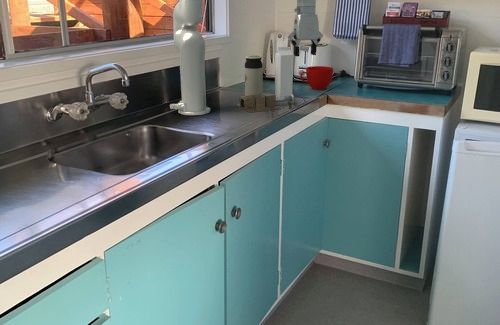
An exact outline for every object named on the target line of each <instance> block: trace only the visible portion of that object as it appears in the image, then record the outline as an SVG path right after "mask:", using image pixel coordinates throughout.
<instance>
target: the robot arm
mask: <svg viewBox="0 0 500 325" xmlns="http://www.w3.org/2000/svg"><path fill="white" fill-rule="evenodd" d="M316 3H317V0H296V8H294V11H293V12H295V13H296V14H295V16H294V21H293V28H292V32H290V34H288V35H287V39H288V40H289V42H290V43H291V44H292V46H293V57H300V53H301V52H300V46H299V45H300V43H301V41H310V43H311V45H310V55H312V56H316V55H317V50H318V49H317V46H318V45H319V43H320V41H321V40H322V38H323V37H324V35H323V33H322V32H320V26H319V22H320V21H319V16H318V14H316V12H317V9H316V6H317V4H316ZM172 13H173V14H172V15H173V16H172V17H173V18H172V22H173V25H172V26H173V44H174V47H175V48H176V49H177V51H178V52H179V53H180V54H179V71H180V72H179V74H180V91H181V100H179V102H177V103H170V104H169V108H170V110H174V109H175V110H178V114H180V115H184V116H201V115H206V114H209V113H210V112H211V108H210V107H208V106H207V96H206V92H207V91H206V73H205V72H206V69H205V67H206V65H205V64H206V63H205V60H206V59H205V58H206V57H205V56H206V41H205V38H204V37H203V35H202V34H201V33H200V32H198V25H199V24H200V23H201V22H202V21H203V16H204V14H203V13H204V12H203V0H179V1H178V2H177V3H176V4H175V6H174V9H173V12H172Z"/></svg>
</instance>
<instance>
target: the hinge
mask: <svg viewBox="0 0 500 325" xmlns="http://www.w3.org/2000/svg"><path fill="white" fill-rule="evenodd" d="M276 97H277V96H276V95H275V93H271V92H270V93H269V92H268V93H263V94H257V95H251V96H250V95H248V96H245V95H241V96H239V104H236V105H235V106H236V108H239V109H241V110H242V111H245V112H247V113H250V114H251V113H256V112H257V113H258V112H264V111H274V110H280V109H281V107H280V106H278V105H277V102H276Z"/></svg>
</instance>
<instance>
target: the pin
mask: <svg viewBox="0 0 500 325" xmlns="http://www.w3.org/2000/svg"><path fill="white" fill-rule="evenodd" d="M294 101H295V95H294V94H293V93H292V94H290V95H286V96H276V103H281V102H294Z"/></svg>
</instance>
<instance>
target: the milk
mask: <svg viewBox="0 0 500 325" xmlns="http://www.w3.org/2000/svg"><path fill="white" fill-rule="evenodd" d="M274 60H275V61H274V71H275V72H274V95H276V97H277V96H286V95H290V94H293V80H294V79H293V75H294V74H293V72H294V71H293V69H294V68H293V66H294V65H293V64H294V53H293V52H292V51H291V47H290V46H279V47H277V51H276V53H275V54H274Z"/></svg>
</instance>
